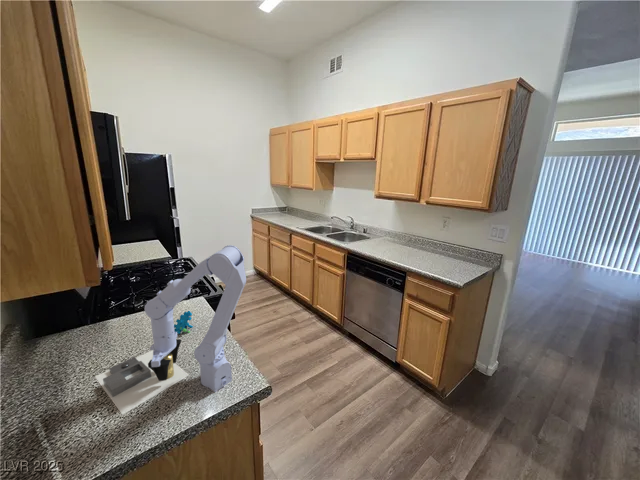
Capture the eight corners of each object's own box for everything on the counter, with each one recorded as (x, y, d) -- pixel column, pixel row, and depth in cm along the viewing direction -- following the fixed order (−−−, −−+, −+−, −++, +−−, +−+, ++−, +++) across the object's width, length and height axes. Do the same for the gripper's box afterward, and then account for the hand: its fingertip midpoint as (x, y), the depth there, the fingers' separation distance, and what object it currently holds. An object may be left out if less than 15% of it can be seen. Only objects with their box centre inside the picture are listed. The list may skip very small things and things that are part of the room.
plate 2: (151, 376, 82) (150, 370, 81) (112, 397, 74) (111, 390, 73) (141, 367, 86) (140, 360, 85) (104, 385, 78) (102, 378, 77)
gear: (170, 323, 111) (188, 305, 112) (182, 328, 114) (199, 311, 115) (171, 340, 102) (190, 321, 103) (184, 345, 105) (202, 327, 106)
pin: (176, 374, 83) (174, 355, 82) (165, 380, 81) (163, 361, 79) (171, 370, 85) (169, 351, 83) (160, 375, 82) (158, 356, 81)
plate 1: (151, 376, 82) (150, 372, 82) (125, 390, 76) (124, 386, 76) (134, 360, 89) (134, 355, 89) (109, 371, 83) (108, 367, 83)
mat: (189, 377, 83) (189, 375, 83) (122, 417, 69) (122, 414, 69) (157, 350, 96) (157, 348, 95) (95, 379, 81) (94, 376, 81)
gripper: (159, 320, 86) (163, 356, 89) (137, 348, 72) (142, 390, 75) (182, 319, 87) (185, 355, 90) (165, 346, 73) (169, 387, 76)
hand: (167, 370), depth 82 cm, fingers open, 7 cm apart
